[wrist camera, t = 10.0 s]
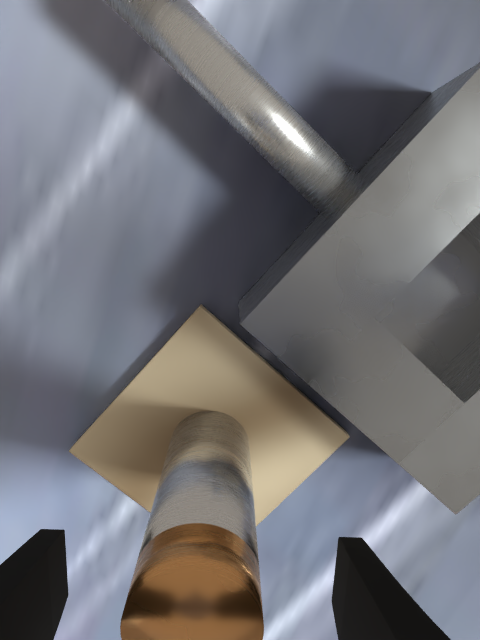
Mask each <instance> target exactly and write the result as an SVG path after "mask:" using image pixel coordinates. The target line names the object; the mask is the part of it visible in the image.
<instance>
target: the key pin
mask: <svg viewBox="0 0 480 640" xmlns="http://www.w3.org/2000/svg"><path fill="white" fill-rule="evenodd" d="M120 629H121V638H122V640H262V639H263V633H264V624H263V611H262V598H261V586H260V573H259V560H258V548H257V535H256V522H255V509H254V497H253V484H252V471H251V459H250V446H249V439H248V436H247V433H246V431H245V429H244V428H243V426H242V425H241V424H240V423H239V422H238V421H237V420H236V419H234V418H233V417H231V416H229V415H227V414H225V413H222V412H218V411H201V412H197V413H194V414H192V415H190V416H188V417H186V418H185V419H183V420H182V421H181V422H180V423H179V424H178V426H177V427H176V428H175V430H174V432H173V434H172V437H171V440H170V444H169V448H168V451H167V455H166V459H165V462H164V466H163V469H162V473H161V477H160V480H159V484H158V488H157V491H156V495H155V499H154V502H153V506H152V509H151V513H150V517H149V520H148V524H147V528H146V531H145V535H144V539H143V542H142V546H141V549H140V553H139V557H138V560H137V564H136V568H135V571H134V575H133V579H132V582H131V586H130V589H129V593H128V597H127V600H126V604H125V608H124V611H123V615H122V619H121V626H120Z"/></svg>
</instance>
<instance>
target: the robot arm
mask: <svg viewBox="0 0 480 640" xmlns="http://www.w3.org/2000/svg"><path fill="white" fill-rule="evenodd" d="M67 598H68V582H67V565H66V548H65V531H64V530H51V529H41V530H40V531H38V532H37V533H36V534H35V535H34V536H33V537H31V538H30V539H29V540H28V541H27V542H26V543H25V544H23V545H22V546H21V547H20V548H19V549H18V550H17V551H16V552H14V553H13V554H12V555H11V556H10V557H9V558H8V559H6V560H5V561H4V562H3V563H2V564H1V565H0V640H53V639H54V636H55V634H56V631H57V628H58V625H59V622H60V619H61V616H62V613H63V610H64V607H65V604H66V601H67ZM332 606H333V612H334V618H335V623H336V629H337V634H338V639H339V640H451V639H450V638H449V637H448V636H447V635H446V634H445V633H444V632H443V631H442V630H441V629H440V628H439V627H438V626H437V625H436V624H435V623H434V622H433V621H432V620H431V619H430V618H429V616H428V615H427V614H426V613H425V612H424V611H423V610H422V609H421V608H420V606H419V605H418V604H417V603H416V602H415V601H414V600H413V599H412V597H411V596H410V595H409V594H408V593H407V592H406V591H405V589H404V588H403V587H402V586H401V585H400V584H399V582H398V581H397V580H396V579H395V578H394V576H393V575H392V574H391V573H390V572H389V570H388V569H387V568H386V567H385V566H384V564H383V563H382V562H381V561H380V559H379V558H378V557H377V556H376V554H375V553H374V552H373V551H372V550H371V548H370V547H369V546H368V545H367V543H366V542H365V541H364V540H363V539H362V538H353V537H339V539H338V548H337V557H336V566H335V575H334V585H333V594H332Z"/></svg>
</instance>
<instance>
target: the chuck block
mask: <svg viewBox="0 0 480 640" xmlns="http://www.w3.org/2000/svg"><path fill="white" fill-rule="evenodd" d="M105 1H106V3H107V4H108V5H109V6H110V7H111V8H112V9H113V10H114V11H115V12H116V13H117V14H118V15H119V16H120V17H121V18H122V19H123V20H124V21H125V22H126V23H127V24H128V25H129V26H130V27H131V28H132V29H133V30H134V31H135V32H137V33H138V34H139V35H140V36H141V37H142V38H143V39H144V40H145V41H146V42H147V43H148V44H149V45H150V46H151V47H152V48H153V49H154V50H155V51H156V52H157V53H158V54H159V55H160V56H161V57H162V58H163V59H164V60H165V61H166V62H167V63H168V64H169V65H170V66H171V67H172V68H173V69H174V70H175V71H176V72H177V73H178V74H179V75H180V76H181V77H182V78H183V79H184V80H185V81H186V82H187V83H188V84H189V85H190V86H191V87H193V88H194V89H195V90H196V91H197V92H198V93H199V94H200V95H201V96H202V97H203V98H204V99H205V100H206V101H207V102H208V103H209V104H210V105H211V106H212V107H213V108H214V109H215V110H216V111H217V112H218V113H219V114H220V115H221V116H222V117H223V118H224V119H225V120H226V121H227V122H228V123H229V124H230V125H231V126H232V127H233V128H234V129H235V130H236V131H237V132H238V133H239V134H240V135H241V136H242V137H243V138H244V139H245V140H246V141H248V142H249V143H250V144H251V145H252V146H253V147H254V148H255V149H256V150H257V151H258V152H259V153H260V154H261V155H262V156H263V157H264V158H265V159H266V160H267V161H268V162H269V163H270V164H271V165H272V166H273V167H274V168H275V169H276V170H277V171H278V172H279V173H280V174H281V175H282V176H283V177H284V178H285V179H286V180H287V181H288V182H289V183H290V184H291V185H292V186H293V187H294V188H295V189H296V190H297V191H298V192H299V193H300V194H301V195H302V196H304V197H305V198H306V199H307V200H308V201H309V202H310V203H311V204H312V205H313V206H314V207H315V208H316V209H317V210H318V211H319V212H320V214H319V216H318V217H317V218H316V219H315V220H314V221H313V222H312V223H311V224H310V225H309V226H308V227H307V229H306V230H305V231H304V232H303V233H302V234H301V235H300V236H299V237H298V238H297V239H296V240H295V242H294V243H293V244H292V245H291V246H290V247H289V248H288V249H287V250H286V251H285V252H284V253H283V254H282V256H281V257H280V258H279V259H278V260H277V261H276V262H275V263H274V264H273V265H272V266H271V267H270V269H269V270H268V271H267V272H266V273H265V274H264V275H263V276H262V277H261V278H260V279H259V280H258V282H257V283H256V284H255V285H254V286H253V287H252V288H251V289H250V290H249V291H248V292H247V293H246V295H245V296H244V297H243V298H242V299H241V300H240V301H239V302H238V307H239V319H240V325H241V326H242V327H244V328H245V329H246V330H247V331H248V332H249V333H250V334H251V335H253V336H254V337H255V338H256V339H257V340H258V341H259V342H261V343H262V344H263V345H264V346H265V347H266V348H267V349H268V350H270V351H271V352H272V353H273V354H274V355H275V356H276V357H278V358H279V359H280V360H281V361H282V362H283V363H284V364H285V365H287V366H288V367H289V368H290V369H291V370H292V371H293V372H295V373H296V374H297V375H298V376H299V377H300V378H301V379H302V380H304V381H305V382H306V383H307V384H308V385H309V386H310V387H312V388H313V389H314V390H315V391H316V392H317V393H318V394H320V395H321V396H322V397H323V398H324V399H325V400H326V401H327V402H329V403H330V404H331V405H332V406H333V407H334V408H335V409H337V410H338V411H339V412H340V413H341V414H342V415H343V416H344V417H346V418H347V419H348V420H349V421H350V422H351V423H352V424H354V425H355V426H356V427H357V428H358V429H359V430H360V431H361V432H363V433H364V434H365V435H366V436H367V437H368V438H369V439H371V440H372V441H373V442H374V443H375V444H376V445H377V446H378V447H380V448H381V449H382V450H383V451H384V452H385V453H386V454H388V455H389V456H390V457H391V458H392V459H393V460H394V461H395V462H397V463H398V464H399V465H400V466H401V467H402V468H403V469H405V470H406V471H407V472H408V473H409V474H410V475H411V476H412V477H414V478H415V479H416V480H417V481H418V482H419V483H420V484H422V485H423V486H424V487H425V488H426V489H427V490H428V491H429V492H431V493H432V494H433V495H434V496H435V497H436V498H437V499H439V500H440V501H441V502H442V503H443V504H444V505H445V506H446V507H448V508H449V509H450V510H451V511H452V512H453V513H454V514H457V513H458V512H460V511H461V510H462V509H463V508H464V507H465V506H467V505H468V504H469V503H470V502H471V501H472V500H473V499H475V498H476V497H477V496H478V495H479V494H480V63H478V64H477V65H475V66H473V67H472V68H470V69H469V70H467V71H465V72H464V73H462V74H461V75H459V76H457V77H456V78H454V79H453V80H451V81H449V82H448V83H446V84H445V85H443V86H441V87H440V88H438V89H437V90H435V91H433V92H432V93H431V94H430V96H429V97H428V98H427V99H426V100H425V101H424V102H423V103H422V104H421V105H420V106H419V107H418V108H417V110H416V111H415V112H414V113H413V114H412V115H411V116H410V117H409V118H408V119H407V120H406V121H405V123H404V124H403V125H402V126H401V127H400V128H399V129H398V130H397V131H396V132H395V133H394V134H393V136H392V137H391V138H390V139H389V140H388V141H387V142H386V143H385V144H384V145H383V146H382V147H381V149H380V150H379V151H378V152H377V153H376V154H375V155H374V156H373V157H372V158H371V159H370V160H369V161H368V163H367V164H366V165H365V166H364V167H363V168H362V169H361V170H360V171H359V172H358V173H356V172H355V171H354V170H353V169H352V168H351V167H350V166H349V165H348V164H347V163H346V162H345V161H344V160H343V159H342V158H341V157H340V156H339V155H338V154H337V153H336V152H335V151H334V150H333V149H332V148H331V147H330V146H329V145H328V144H327V143H326V141H325V140H324V139H323V138H322V137H321V136H320V135H319V134H318V133H317V132H316V131H315V130H314V129H313V128H312V127H311V126H310V125H309V124H308V123H307V122H306V121H305V120H304V119H303V118H302V117H301V116H300V115H299V114H298V113H297V112H296V111H295V110H294V109H293V108H292V107H291V106H290V105H289V104H288V103H287V102H286V101H285V99H284V98H283V97H282V96H281V95H280V94H279V93H278V92H277V91H276V90H275V89H274V88H273V87H272V86H271V85H270V84H269V83H268V82H267V81H266V80H265V79H264V78H263V77H262V76H261V75H260V74H259V73H258V72H257V71H256V70H255V69H254V68H253V67H252V66H251V65H250V64H249V63H248V62H247V61H246V60H245V59H244V58H243V56H242V55H241V54H240V53H239V52H238V51H237V50H236V49H235V48H234V47H233V46H232V45H231V44H230V43H229V42H228V41H227V40H226V39H225V38H224V37H223V36H222V35H221V34H220V33H219V32H218V31H217V30H216V29H215V28H214V27H213V26H212V25H211V24H210V23H209V22H208V21H207V20H206V19H205V18H204V17H203V16H202V14H201V13H200V12H199V11H198V10H197V9H196V8H195V7H194V6H193V5H192V4H191V3H190V2H189V1H188V0H105Z"/></svg>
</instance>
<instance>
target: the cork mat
mask: <svg viewBox="0 0 480 640" xmlns="http://www.w3.org/2000/svg"><path fill="white" fill-rule="evenodd" d="M201 411H218V412H222V413H225V414H227V415H229V416H231V417H233V418H234V419H236V420H237V421H238V422H239V423H240V424H241V425H242V426H243V428H244V429H245V431H246V433H247V436H248V439H249V446H250V459H251V471H252V484H253V497H254V509H255V522H256V526H257V525H258V524H259V523H260V522H261V521H262V520H263V519H264V518H265V517H266V516H267V515H268V514H270V513H271V512H272V511H273V510H274V509H275V508H276V507H277V506H278V505H279V504H280V503H281V502H282V501H283V500H284V499H285V498H286V497H287V496H288V495H289V494H290V493H292V492H293V491H294V490H295V489H296V488H297V487H298V486H299V485H300V484H301V483H302V482H303V481H304V480H305V479H306V478H307V477H308V476H309V475H310V474H311V473H313V472H314V471H315V470H316V469H317V468H318V467H319V466H320V465H321V464H322V463H323V462H324V461H325V460H326V459H327V458H328V457H329V456H330V455H331V454H332V453H333V452H335V451H336V450H337V449H338V448H339V447H340V446H341V445H342V444H343V443H344V442H345V441H346V440H347V439H348V438H349V437H350V436H349V434H348V433H347V432H346V431H345V430H344V429H343V428H342V427H341V426H340V425H338V424H337V423H336V422H335V421H334V420H333V419H332V418H330V417H329V416H328V415H327V414H326V413H325V412H324V411H322V410H321V409H320V408H319V407H318V406H317V405H316V404H314V403H313V402H312V401H311V400H310V399H309V398H308V397H306V396H305V395H304V394H303V393H302V392H301V391H300V390H298V389H297V388H296V387H295V386H294V385H293V384H292V383H290V382H289V381H288V380H287V379H286V378H285V377H284V376H282V375H281V374H280V373H279V372H278V371H277V370H276V369H274V368H273V367H272V366H271V365H270V364H269V363H268V362H266V361H265V360H264V359H263V358H262V357H261V356H260V355H258V354H257V353H256V352H255V351H254V350H253V349H252V348H250V347H249V346H248V345H247V344H246V343H245V342H244V341H242V340H241V339H240V338H239V337H238V336H237V335H236V334H234V333H233V332H232V331H231V330H230V329H229V328H228V327H226V326H225V325H224V324H223V323H222V322H221V321H220V320H218V319H217V318H216V317H215V316H214V315H213V314H212V313H210V312H209V311H208V310H207V309H206V308H205V307H204V306H202V305H200V306H199V307H198V308H197V309H196V310H195V312H194V313H193V314H192V315H191V316H190V317H189V318H188V319H187V320H186V321H185V323H184V324H183V325H182V326H181V327H180V328H179V329H178V330H177V331H176V332H175V334H174V335H173V336H172V337H171V338H170V339H169V340H168V341H167V342H166V344H165V345H164V346H163V347H162V348H161V349H160V350H159V351H158V352H157V353H156V355H155V356H154V357H153V358H152V359H151V360H150V361H149V362H148V363H147V364H146V366H145V367H144V368H143V369H142V370H141V371H140V372H139V373H138V374H137V375H136V377H135V378H134V379H133V380H132V381H131V382H130V383H129V384H128V385H127V387H126V388H125V389H124V390H123V391H122V392H121V393H120V394H119V395H118V396H117V398H116V399H115V400H114V401H113V402H112V403H111V404H110V405H109V406H108V407H107V409H106V410H105V411H104V412H103V413H102V414H101V415H100V416H99V417H98V418H97V420H96V421H95V422H94V423H93V424H92V425H91V426H90V427H89V428H88V429H87V431H86V432H85V433H84V434H83V435H82V436H81V437H80V438H79V439H78V441H77V442H76V443H75V444H74V445H73V446H72V447H71V449H70V450H69V452H70V453H72V454H73V455H74V456H76V457H77V458H78V459H80V460H81V461H82V462H84V463H85V464H86V465H88V466H89V467H90V468H92V469H93V470H94V471H96V472H97V473H98V474H100V475H101V476H102V477H104V478H105V479H106V480H108V481H109V482H110V483H112V484H113V485H114V486H116V487H117V488H118V489H120V490H121V491H122V492H124V493H125V494H126V495H128V496H129V497H130V498H132V499H133V500H134V501H136V502H137V503H138V504H140V505H141V506H142V507H144V508H145V509H146V510H148V511H149V512H150V513H151V509H152V506H153V502H154V499H155V495H156V491H157V488H158V484H159V480H160V477H161V473H162V469H163V466H164V462H165V459H166V455H167V451H168V448H169V444H170V440H171V437H172V434H173V432H174V430H175V428H176V427H177V426H178V424H179V423H180V422H181V421H182V420H183V419H185V418H186V417H188V416H190V415H192V414H194V413H197V412H201Z"/></svg>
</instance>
